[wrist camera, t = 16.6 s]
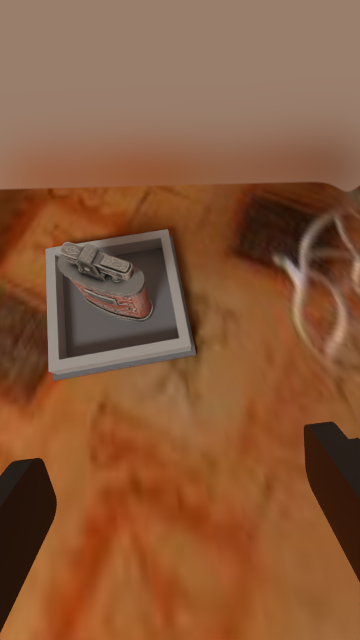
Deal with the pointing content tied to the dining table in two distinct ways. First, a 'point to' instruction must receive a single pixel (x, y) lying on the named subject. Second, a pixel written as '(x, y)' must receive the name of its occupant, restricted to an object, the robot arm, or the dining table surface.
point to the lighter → (106, 282)
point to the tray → (111, 332)
